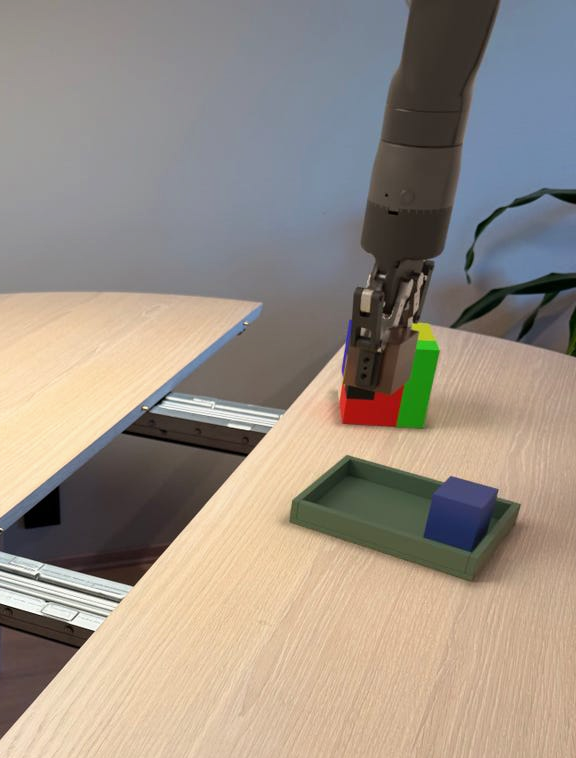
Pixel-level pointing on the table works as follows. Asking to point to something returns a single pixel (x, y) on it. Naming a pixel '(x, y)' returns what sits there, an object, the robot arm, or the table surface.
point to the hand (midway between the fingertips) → (377, 378)
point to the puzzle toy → (402, 404)
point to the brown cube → (388, 361)
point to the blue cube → (460, 513)
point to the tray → (392, 515)
